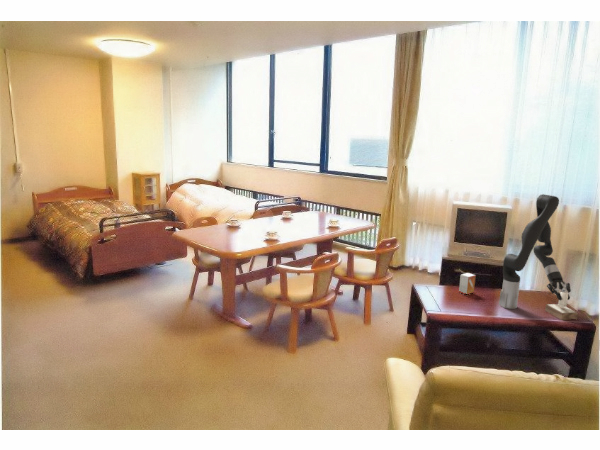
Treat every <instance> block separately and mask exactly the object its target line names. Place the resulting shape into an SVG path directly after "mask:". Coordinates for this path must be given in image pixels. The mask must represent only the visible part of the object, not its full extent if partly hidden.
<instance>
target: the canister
mask: <svg viewBox="0 0 600 450" xmlns="http://www.w3.org/2000/svg"><path fill="white" fill-rule="evenodd" d="M564 291H565V290H564ZM564 291H561V290H559V293H560V295H561V297H562V300H559V299H558V302H557V304H558V305H559V306H562V307H567V305H568V294H569V293H568V292H564Z"/></svg>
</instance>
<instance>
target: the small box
mask: <svg viewBox="0 0 600 450" xmlns="http://www.w3.org/2000/svg"><path fill="white" fill-rule="evenodd" d="M476 276H477V275H476V274H472V273H470V272H466V273H465V272H464V273H462V274H460V276H459V277H460V278H459V289H458V292H459V291H461V292H463V293H466V294H468V293H472V292H475V286H476V285H475V284H476Z"/></svg>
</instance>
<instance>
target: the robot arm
mask: <svg viewBox="0 0 600 450" xmlns="http://www.w3.org/2000/svg"><path fill="white" fill-rule="evenodd" d="M535 201H536V202H535V206H536V215H537V216H536V217H535V218H534V219H532V220H531V221H529V222H528V223H527V224H526V226H525V227H524V229H523V230H522V233H521V249H520V251H519V253H518V255H517V254H513V253H508V254H506V255H505V256H504V258H503V265H502V276H503V280H502V281H503V282H502V286H501V287H502V289H501V290H500V294H499V301H498V305H499V306H501V307H502V308H503V309H509V310H516V309H517V307H518V300H519V293H520V283H521V276H520V275H519V274H518V272H521V271H523V270H524V268H525V267H526V265H527V262H528V260H529V258H530V255H531V254H532V251H533V254H534V256H535V257H536V258H537V260H538V261H539V262H540V263H541V265H542V267H543V270H544V272H545V275H546V277H547V280H548V282H549V283H548V284H547V285H546V287H547V288H548V290H549V291H550V293H551V294H554V295H555V296H556V298H557V300H558V301H559V300H562V297H561V295H560V291H564V292H568V300H570V298H571V296H570V294H569V293H570V292H571V291H572V290H571V283H569V282H567V283H566V282H565V281H564V278H563V275H562V273H561V271H560V269H559V267H558V266H557V263H556V261H555V259H554V258H553V257H550V256H551V255H552V254H553V252H554V250H553V246H552V240H551V236H552V228H551V225H550V223H549V220H550V219H551V218H552V216H553V215H554V213H555V211H557V208H558V207H559V204H560V199H559V197H558V196H556V195H550V194H543V193H542V194H540V195H538V197H537V198H536V200H535ZM537 242H539V243H543V244H542V245H536V243H537ZM568 300H567V301H568Z"/></svg>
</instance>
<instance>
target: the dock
mask: <svg viewBox="0 0 600 450" xmlns="http://www.w3.org/2000/svg"><path fill="white" fill-rule="evenodd" d="M544 310H545V312H546V313H549V314H550V315H552V316H554V317H555V318H557V319H559V320H560V321H565V320H566V321H569V320H571V319H576V320H578V316H579V313H578V312H577V311H576V310H573V309H571V308H569V307H567V306H566V307H562V306H559V305H558V303H556V304H555V303H552V304H551V303H550V304H549V303H548V304H545V309H544Z"/></svg>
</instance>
